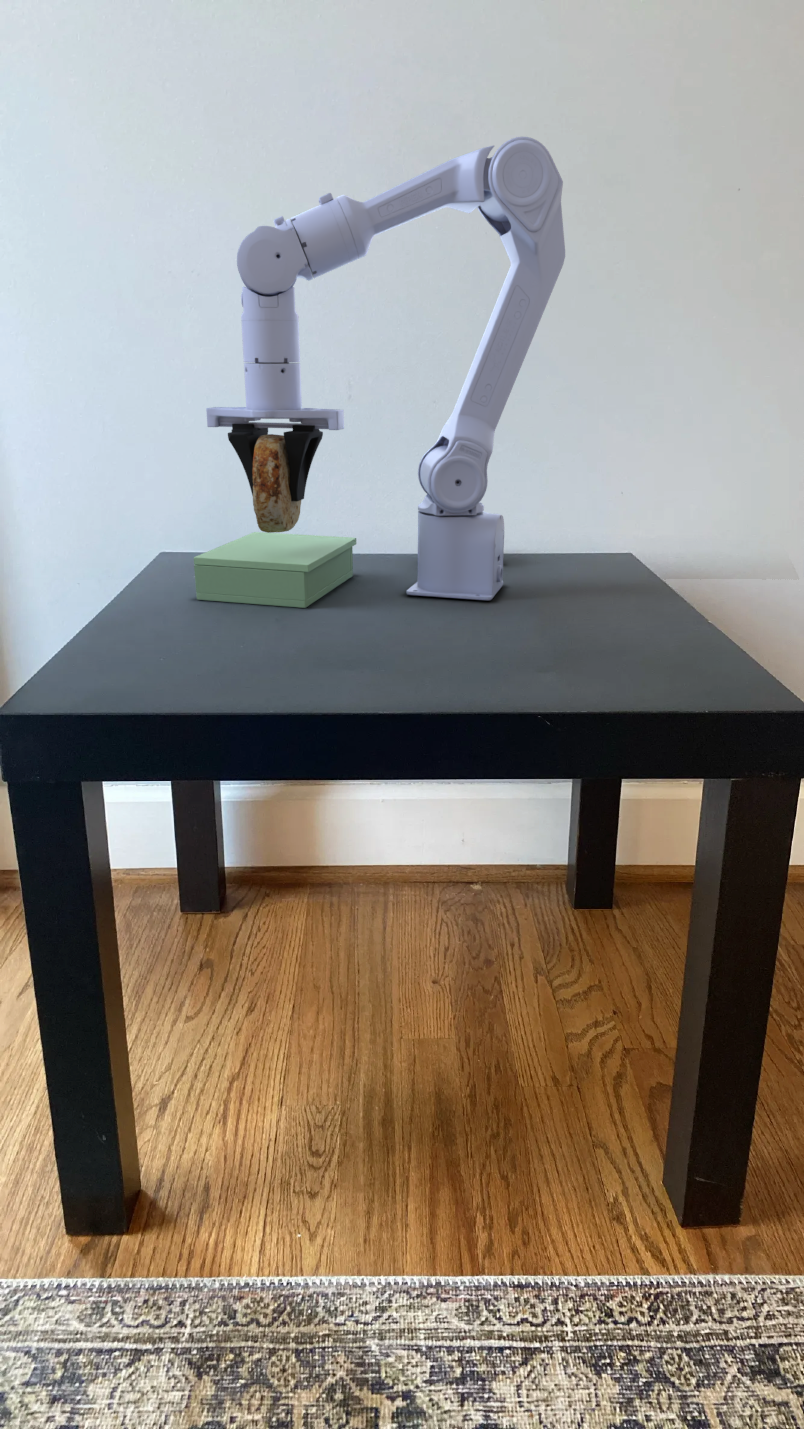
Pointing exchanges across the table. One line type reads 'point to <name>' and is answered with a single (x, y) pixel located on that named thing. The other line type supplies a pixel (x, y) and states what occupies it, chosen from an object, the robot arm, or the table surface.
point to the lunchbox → (272, 583)
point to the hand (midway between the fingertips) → (278, 499)
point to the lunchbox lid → (276, 551)
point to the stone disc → (273, 486)
